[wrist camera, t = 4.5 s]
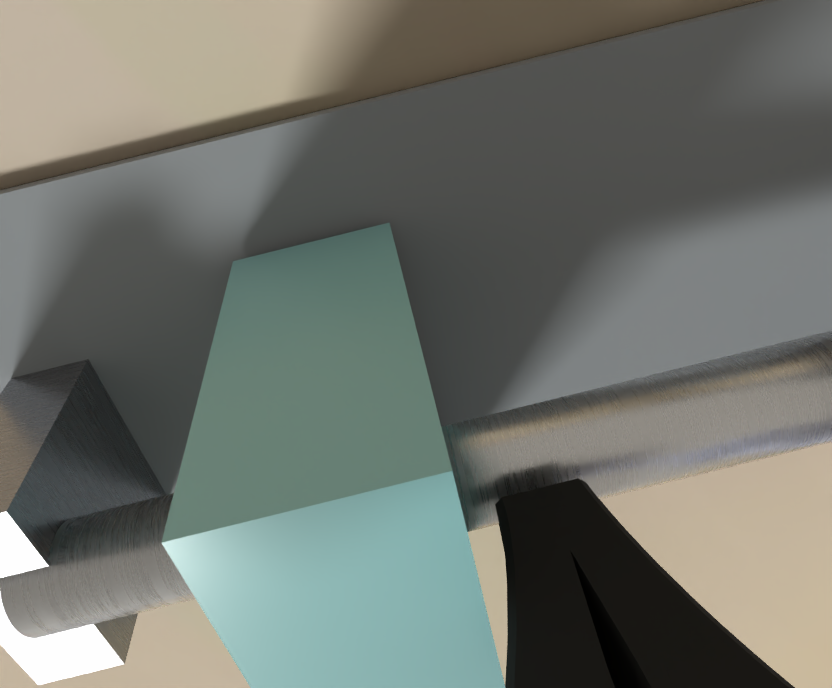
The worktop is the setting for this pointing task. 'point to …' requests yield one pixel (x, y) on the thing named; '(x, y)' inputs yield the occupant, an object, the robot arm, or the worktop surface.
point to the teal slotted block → (327, 483)
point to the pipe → (467, 448)
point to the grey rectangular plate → (468, 222)
